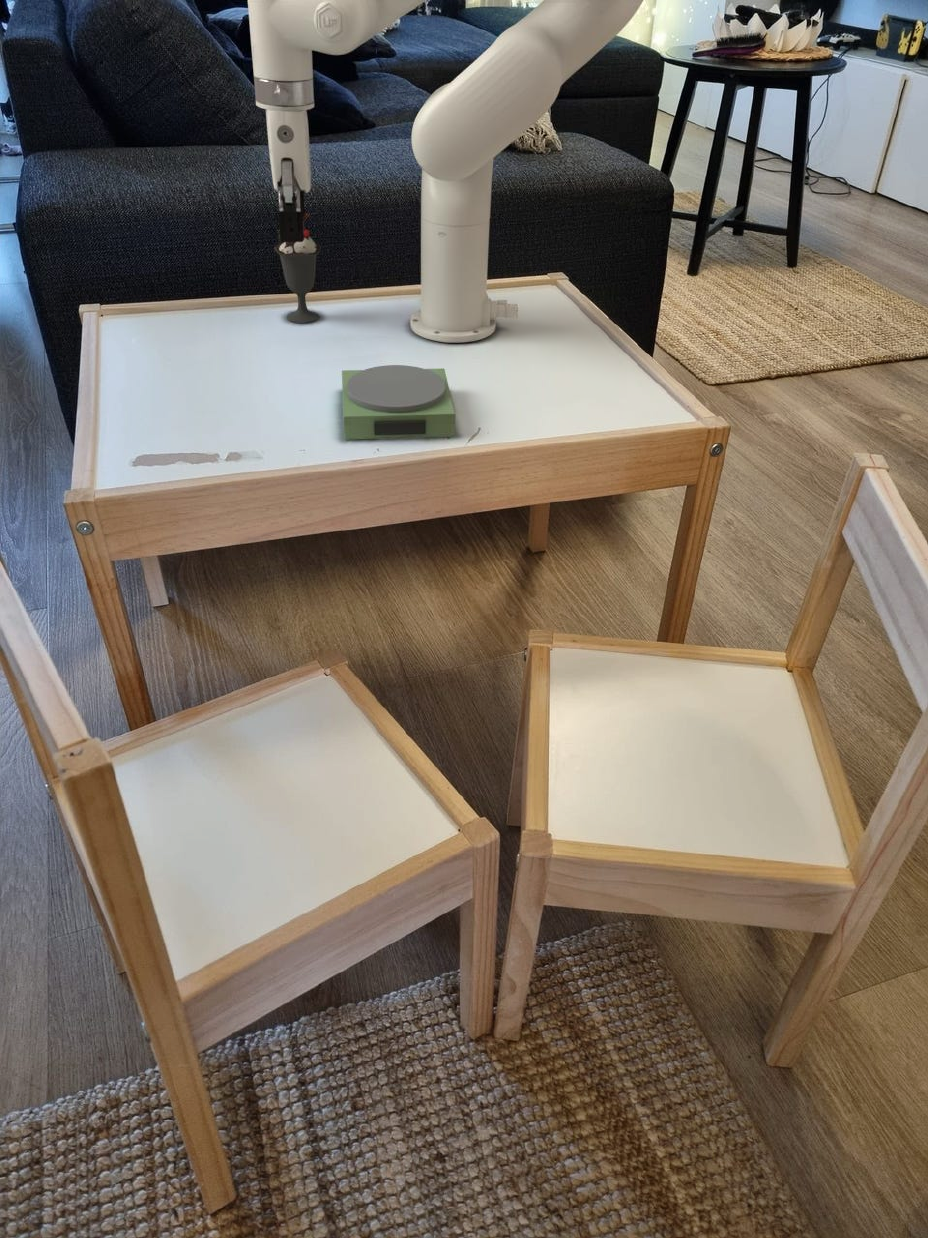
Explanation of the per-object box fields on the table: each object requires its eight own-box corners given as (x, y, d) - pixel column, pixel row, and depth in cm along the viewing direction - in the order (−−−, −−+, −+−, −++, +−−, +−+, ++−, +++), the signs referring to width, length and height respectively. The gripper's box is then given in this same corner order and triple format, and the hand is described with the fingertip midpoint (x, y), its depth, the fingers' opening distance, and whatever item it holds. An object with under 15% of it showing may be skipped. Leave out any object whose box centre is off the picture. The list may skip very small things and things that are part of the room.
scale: (443, 390, 119) (444, 362, 117) (455, 438, 109) (456, 409, 106) (343, 392, 118) (341, 364, 115) (344, 441, 107) (343, 411, 105)
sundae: (329, 323, 136) (323, 216, 127) (284, 327, 134) (273, 219, 125) (322, 308, 141) (315, 204, 132) (278, 311, 139) (267, 206, 130)
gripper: (313, 106, 113) (319, 250, 124) (314, 82, 127) (320, 213, 137) (250, 104, 112) (263, 249, 123) (258, 80, 126) (269, 212, 136)
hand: (293, 230), depth 130 cm, fingers open, 9 cm apart
